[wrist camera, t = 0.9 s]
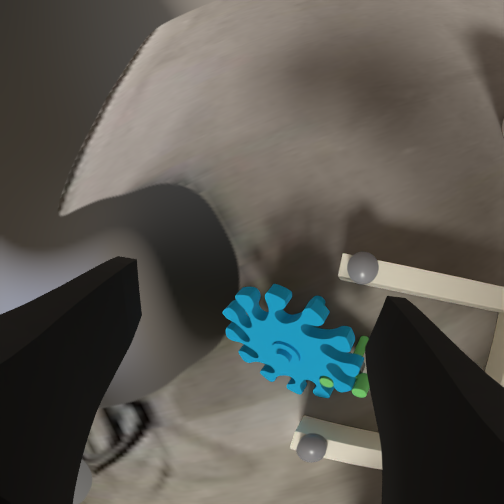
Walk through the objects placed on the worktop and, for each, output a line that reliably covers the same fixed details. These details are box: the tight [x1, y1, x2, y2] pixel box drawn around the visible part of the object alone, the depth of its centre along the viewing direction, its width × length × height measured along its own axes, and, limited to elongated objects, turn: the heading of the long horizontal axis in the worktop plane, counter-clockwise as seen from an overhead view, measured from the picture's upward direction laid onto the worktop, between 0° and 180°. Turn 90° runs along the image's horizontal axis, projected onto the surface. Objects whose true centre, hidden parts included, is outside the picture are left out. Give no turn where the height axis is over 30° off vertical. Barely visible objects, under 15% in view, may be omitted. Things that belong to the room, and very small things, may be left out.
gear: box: [223, 284, 370, 398], centre depth 21 cm, size 11×6×10 cm
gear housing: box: [290, 252, 504, 470], centre depth 18 cm, size 14×15×4 cm
